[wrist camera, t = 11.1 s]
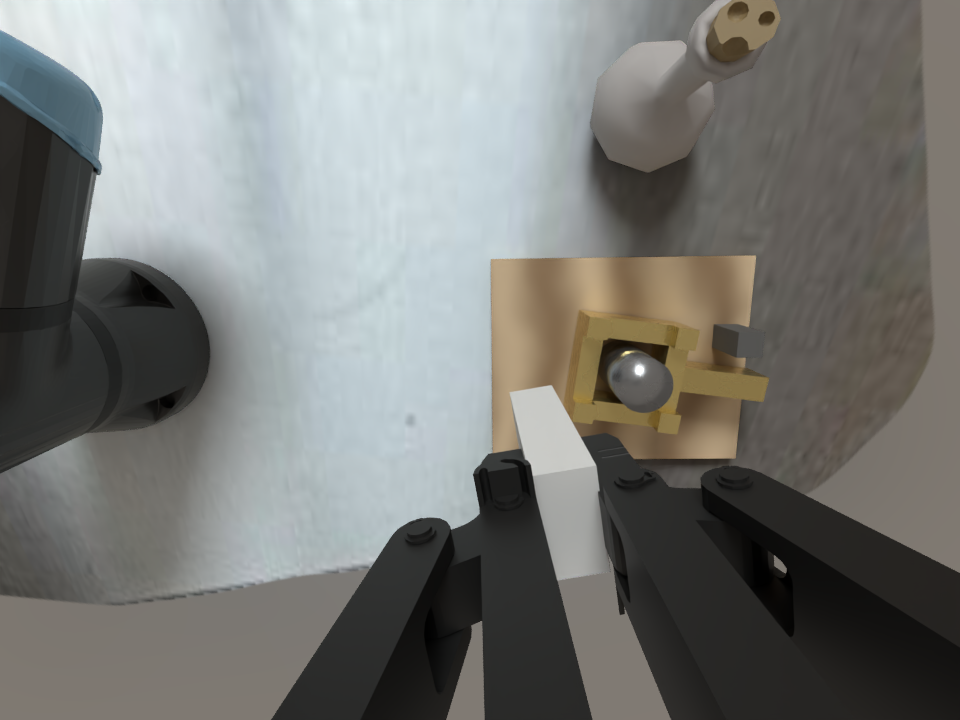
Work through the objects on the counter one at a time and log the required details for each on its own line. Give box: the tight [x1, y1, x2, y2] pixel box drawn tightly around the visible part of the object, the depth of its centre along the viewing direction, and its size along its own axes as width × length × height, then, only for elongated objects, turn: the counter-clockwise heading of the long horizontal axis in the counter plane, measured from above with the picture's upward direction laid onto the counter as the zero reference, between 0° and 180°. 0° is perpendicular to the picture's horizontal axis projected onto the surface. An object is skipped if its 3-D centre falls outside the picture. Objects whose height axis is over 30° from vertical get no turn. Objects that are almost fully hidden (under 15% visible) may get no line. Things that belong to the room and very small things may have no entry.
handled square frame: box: [563, 310, 769, 435], centre depth 41 cm, size 15×8×5 cm, turn 83°
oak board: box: [491, 256, 756, 459], centre depth 44 cm, size 22×18×1 cm
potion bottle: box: [590, 0, 781, 173], centre depth 32 cm, size 9×9×18 cm
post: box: [597, 340, 673, 413], centre depth 40 cm, size 4×4×9 cm
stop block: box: [712, 324, 765, 358], centre depth 41 cm, size 2×2×4 cm
